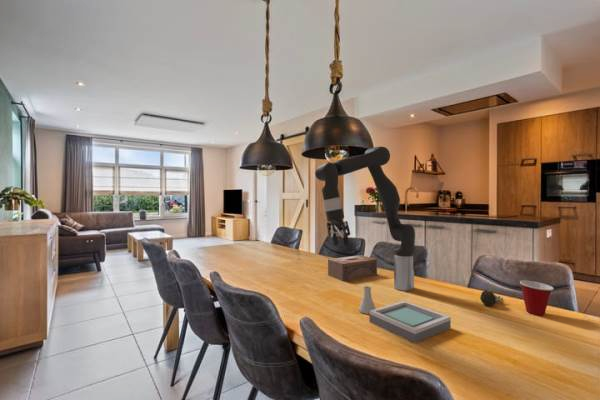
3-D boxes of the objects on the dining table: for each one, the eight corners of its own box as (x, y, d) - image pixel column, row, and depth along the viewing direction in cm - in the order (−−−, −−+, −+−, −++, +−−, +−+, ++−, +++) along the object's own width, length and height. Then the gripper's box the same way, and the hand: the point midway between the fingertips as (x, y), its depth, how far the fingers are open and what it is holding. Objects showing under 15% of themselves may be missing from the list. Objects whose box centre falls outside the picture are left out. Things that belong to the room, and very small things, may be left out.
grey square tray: (404, 310, 124) (404, 300, 124) (450, 328, 107) (450, 316, 107) (369, 321, 113) (369, 310, 113) (415, 343, 96) (415, 330, 96)
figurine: (506, 292, 135) (497, 292, 125) (505, 306, 134) (496, 308, 124) (486, 288, 141) (476, 288, 131) (485, 302, 140) (475, 303, 130)
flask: (376, 315, 119) (376, 290, 119) (358, 314, 121) (358, 289, 121) (376, 308, 126) (376, 285, 126) (358, 307, 128) (358, 284, 128)
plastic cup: (556, 321, 113) (556, 289, 113) (521, 315, 118) (521, 285, 118) (550, 311, 122) (550, 282, 122) (518, 306, 128) (518, 278, 128)
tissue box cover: (361, 270, 193) (361, 255, 193) (376, 275, 180) (376, 259, 180) (328, 275, 181) (327, 259, 181) (342, 281, 168) (342, 263, 168)
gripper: (349, 206, 125) (357, 244, 124) (333, 208, 138) (340, 243, 137) (334, 209, 122) (342, 248, 121) (318, 211, 135) (326, 246, 134)
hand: (341, 245), depth 129 cm, fingers open, 8 cm apart
